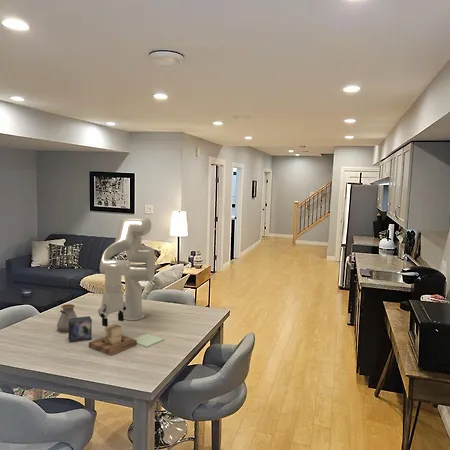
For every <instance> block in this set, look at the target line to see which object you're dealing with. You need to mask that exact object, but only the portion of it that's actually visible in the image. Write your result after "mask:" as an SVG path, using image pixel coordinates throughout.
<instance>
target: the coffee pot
mask: <svg viewBox="0 0 450 450" xmlns="http://www.w3.org/2000/svg"><path fill="white" fill-rule="evenodd" d="M75 306H76V305H75V304H68V303H67V304H63V305H61V308H62V310H60V311H58V315H60V317H59V319H58V320H57V321H58V322H57V323H56V327H57V329H58V330H60V331H61V332H63V333H66V332H67V333H69V318H78V316H77V314H76V312H75V309H74V308H75ZM59 312H60V313H61V314H59Z"/></svg>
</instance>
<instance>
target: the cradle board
mask: <svg viewBox="0 0 450 450" xmlns="http://www.w3.org/2000/svg"><path fill="white" fill-rule="evenodd" d="M137 345H138V344H137V340H135V338H132V337H129V336H126V335H123V334H121V343H119V344H116V345H113V346H111V345H108V344H105V336H102V337H99V338H97V339H94V340H90V341H88V348H89V347H90V349H93V350H95V351H97V352H100V353H103V354H105V355H108V356H111V357H112V356H114V355H117V354H119V353H121V352H124V351H126V350H129V349H131V348H133V347H134V348H135V347H136V346H137Z"/></svg>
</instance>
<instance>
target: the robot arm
mask: <svg viewBox="0 0 450 450" xmlns="http://www.w3.org/2000/svg"><path fill="white" fill-rule="evenodd" d="M151 229H152V222H151V219H150V218H145V217H123V218H120V221H119V225H118V229H117V233H116V238H115V241H114V242H113V243H111V244H110V245H109V246H108V247H107V248H106V249H105V250H104V252H103V253H102V256H101V259H100V263H99V271H100V273H101V274H102V275H104V292H103V294H102V300H101V307H99V309H97V313H98V315H99V316H100V318H101V325H102V327H104V328H105V327H107V326H108V325H109V323H108V317H109V315H110V314H113V313H117V312H118V313H117V320H118V321H119V322H124V321H140V320H143V319H144V318H145V313H143V312H142V311H143V310H142V308H143V305H142V304H143V299H142V298H143V287H142V285H141V283H140V282H152V281H153V280H154V278H155V256H156V255H155V250H154V248H153V247H152V246H148V245H147V246H143V245H142V236H146V235H148V234H149V233H150V231H151ZM125 251H126V259H112V257H114V256H116V255H118V254H121V253H123V252H125ZM129 262H130V263H136V264H130V263H129ZM138 263H141V264H138ZM143 263H144V264H143ZM122 276H124V277H123V278H124V283H125V287H124V289H125V294H124V295H125V300H124V295H123V289H122V287H123V283H122Z"/></svg>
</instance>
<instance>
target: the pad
mask: <svg viewBox="0 0 450 450" xmlns="http://www.w3.org/2000/svg"><path fill="white" fill-rule="evenodd" d="M134 339H135V340H137V345H138V346H142V347H145V348H149V347H151V346H154V345H156V344H159V343H161V342H163V341H165V338H162V337H159V336H156V335H153V334H149V333H146V334H143V335H140V336H138V337H135V338H134Z"/></svg>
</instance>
